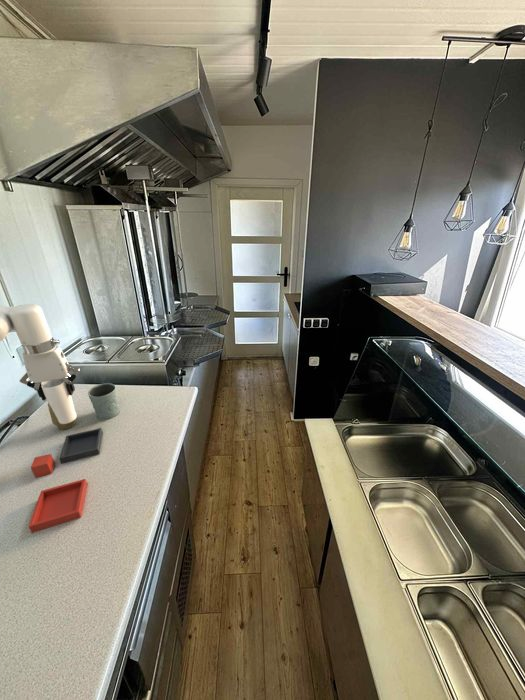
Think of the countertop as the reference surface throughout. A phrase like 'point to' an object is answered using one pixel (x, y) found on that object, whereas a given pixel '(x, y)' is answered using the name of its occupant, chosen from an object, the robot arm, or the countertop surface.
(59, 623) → the countertop surface
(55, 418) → the squeeze bottle
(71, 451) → the graphite tray
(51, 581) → the countertop surface
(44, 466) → the red block
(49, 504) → the red tray
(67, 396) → the drinking glass
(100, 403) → the green pot
